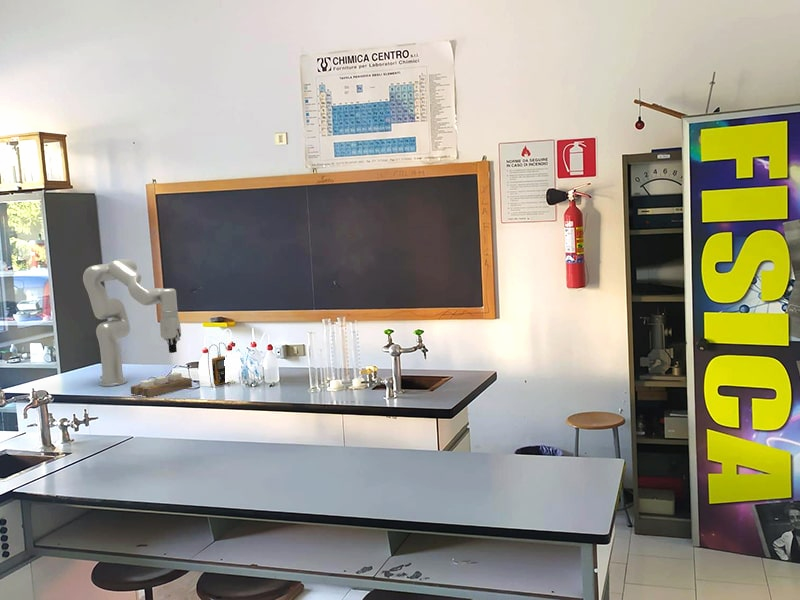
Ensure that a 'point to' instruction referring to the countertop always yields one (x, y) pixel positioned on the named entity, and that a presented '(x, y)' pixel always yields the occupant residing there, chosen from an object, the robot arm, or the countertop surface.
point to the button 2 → (175, 376)
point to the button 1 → (147, 383)
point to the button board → (162, 387)
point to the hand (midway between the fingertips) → (172, 352)
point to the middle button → (161, 380)
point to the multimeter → (218, 369)
